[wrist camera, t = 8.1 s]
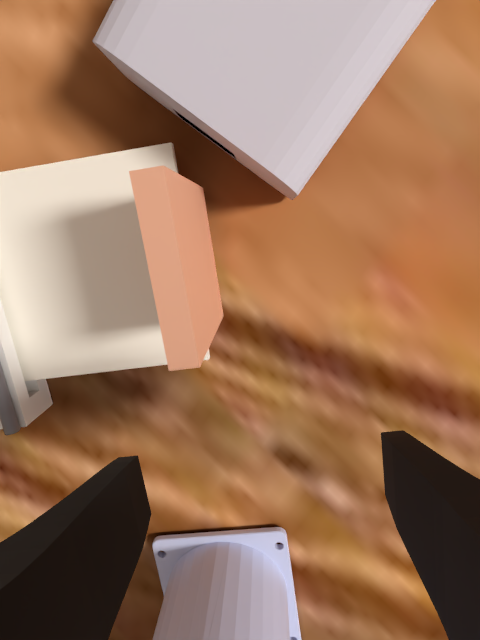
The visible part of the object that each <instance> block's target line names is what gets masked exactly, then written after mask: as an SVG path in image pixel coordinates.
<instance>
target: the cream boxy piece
mask: <svg viewBox="0 0 480 640" xmlns="http://www.w3.org/2000/svg"><path fill="white" fill-rule="evenodd" d="M0 299H1V302H2V306H3V309H4V312H5V316H6V319H7V323H8V326H9V330H10V333H11V336H12V340H13V343H14V347H15V350H16V353H17V357H18V360H19V364H20V367H21V370H22V374H23V377H24V381H32V380H40V379H48V378H57V377H65V376H74V375H82V374H91V373H99V372H108V371H116V370H125V369H133V368H142V367H150V366H159V365H167V364H168V369H169V371H173V370H182V369H191V368H199V367H200V366H201V364H202V362H203V360H209V358H210V354H209V346H210V344H211V342H212V340H213V338H214V336H215V333H216V331H217V329H218V327H219V325H220V322H221V320H222V318H223V310H222V303H221V297H220V291H219V285H218V278H217V272H216V266H215V260H214V253H213V247H212V241H211V235H210V228H209V222H208V216H207V210H206V203H205V197H204V191H203V187H201V186H199V185H197V184H196V183H194V182H192V181H190V180H189V179H187V178H185V177H183V176H181V175H180V174H178V168H177V163H176V157H175V151H174V145H173V143H171V142H170V143H165V144H159V145H153V146H148V147H142V148H136V149H130V150H125V151H119V152H113V153H107V154H102V155H96V156H90V157H85V158H79V159H73V160H67V161H62V162H56V163H50V164H45V165H39V166H33V167H27V168H22V169H16V170H10V171H4V172H0Z"/></svg>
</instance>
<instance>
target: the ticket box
mask: <svg viewBox="0 0 480 640" xmlns="http://www.w3.org/2000/svg"><path fill="white" fill-rule="evenodd" d="M51 405H53V402H52V399H51V395H50V391H49V388H48V384H47V381H46V379H40V380H32V381H24V377H23V374H22V370H21V367H20V364H19V360H18V357H17V353H16V350H15V347H14V343H13V340H12V336H11V333H10V330H9V326H8V323H7V319H6V316H5V312H4V309H3V306H2V302H1V299H0V429H3V430H4V433H5V435H11V434H14V433H16V432H18V431H19V430H20V429H21V428H20V427H27V426H28V425H29V424H30V423H31V422H32V421H34V420H35V419H36V418H37V417H38V416H40V415H41V414H42V413H43V412H44V411H45V410H47V409H48V408H49V407H50V406H51Z"/></svg>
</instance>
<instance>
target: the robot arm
mask: <svg viewBox="0 0 480 640" xmlns="http://www.w3.org/2000/svg"><path fill="white" fill-rule="evenodd" d="M381 440H382V454H383V469H384V483H385V495H386V498H387V501H388V504H389V507H390V510H391V513H392V516H393V519H394V522H395V524H396V527H397V530H398V532H399V534H400V536H401V538H402V540H403V543H404V545H405V547H406V549H407V551H408V553H409V555H410V557H411V559H412V561H413V563H414V565H415V567H416V570H417V572H418V574H419V576H420V578H421V580H422V582H423V584H424V586H425V588H426V590H427V592H428V594H429V596H430V598H431V600H432V602H433V605H434V607H435V609H436V611H437V613H438V615H439V617H440V620H441V622H442V624H443V626H444V629H445V631H446V633H447V636H448V639H449V640H480V479H478V478H476V477H474V476H473V475H471V474H469V473H468V472H466V471H464V470H463V469H461V468H459V467H458V466H456V465H455V464H453V463H451V462H450V461H448V460H447V459H445V458H444V457H442V456H441V455H439V454H438V453H436V452H435V451H433V450H432V449H430V448H429V447H427V446H426V445H424V444H423V443H421V442H420V441H418V440H417V439H416V438H414V437H413V436H411V435H410V434H408V433H406V432H405V431H392V432H382V433H381ZM150 516H151V510H150V506H149V502H148V498H147V493H146V489H145V485H144V480H143V476H142V472H141V467H140V463H139V459H138V456H130V457H119V458H117V459H116V460H114V461H113V462H111V463H110V464H108V465H107V466H106V467H104V468H103V469H102V470H100V471H99V472H98V473H96V474H95V475H94V476H93V477H91V478H90V479H89V480H88V481H86V482H85V483H84V484H82V485H81V486H80V487H79V488H77V489H76V490H75V491H73V492H72V493H71V494H70V495H68V496H67V497H66V498H64V499H63V500H62V501H60V502H59V503H58V504H56V505H55V506H53V507H52V508H51V509H49V510H48V511H47V512H45V513H44V514H42V515H41V516H40V517H38V518H37V519H36V520H34V521H33V522H31V523H30V524H28V525H27V526H26V527H24V528H23V529H21V530H20V531H18V532H16V533H15V534H13V535H12V536H10V537H9V538H7V539H5V540H4V541H2V542H1V543H0V640H108V638H109V635H110V632H111V629H112V627H113V624H114V621H115V619H116V616H117V614H118V611H119V608H120V606H121V603H122V601H123V598H124V596H125V593H126V590H127V588H128V585H129V583H130V580H131V578H132V575H133V572H134V570H135V567H136V565H137V562H138V559H139V557H140V554H141V551H142V548H143V545H144V541H145V537H146V534H147V530H148V525H149V521H150ZM278 542H280V543H282V544H276V543H278ZM152 548H153V552H154V557H155V561H156V565H157V569H158V573H159V578H160V582H161V586H162V590H163V595H164V599H163V603H162V606H161V610H160V614H159V617H158V621H157V625H156V628H155V632H154V636H153V640H301V633H300V626H299V619H298V612H297V604H296V597H295V590H294V583H293V576H292V569H291V562H290V554H289V547H288V540H287V533H286V531H285V530H284V529H283V528H281V527H270V528H257V529H243V530H230V531H216V532H203V533H189V534H176V535H162V536H157V537H156V538H155V539H154V541H153V544H152ZM161 551H164V552H161Z"/></svg>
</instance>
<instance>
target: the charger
mask: <svg viewBox="0 0 480 640" xmlns="http://www.w3.org/2000/svg"><path fill="white" fill-rule="evenodd" d="M435 1H436V0H113V2H112V4H111V6H110V8H109V10H108V12H107V14H106V16H105V18H104V20H103V22H102V23H101V25H100V27H99V29H98V31H97V33H96V35H95V37H94V39H93V43H94V44H95V45H96V46H97V47H98V48H99V49H100V50H101V51H102V52H103V53H104V55H105V56H106V57H107V58H108V59H109V60H110V61H111V62H112V63H113V64H114V65H115V66H116V67H117V68H118V69H119V70H120V71H121V72H122V73H123V74H124V75H125V76H126V77H127V78H128V79H129V80H131V81H132V82H133V83H134V84H135V85H137V86H138V87H139V88H141V89H142V90H143V91H144V92H146V93H147V94H148V95H150V96H151V97H152V98H154V99H155V100H156V101H158V102H159V103H160V104H162V105H163V106H164V107H166V108H167V109H168V110H170V111H171V112H172V113H174V114H175V115H176V116H178V115H177V113H176V112H175V111H177V112H178V113H179V114H181V115H182V116H183V117H185V118H186V119H187V120H189V121H190V122H191V123H193V124H194V125H196V126H197V127H198V128H200V129H201V130H202V131H204V132H205V133H206V134H208V135H209V136H210V137H212V138H213V139H214V140H216V141H217V142H218V143H220V144H221V145H222V146H224V147H225V148H226V149H228V150H229V151H230V152H232V153H233V154H234V156H235V158H236V160H237V161H238V162H240V163H241V164H242V165H244V166H245V167H247V168H248V169H249V170H251V171H252V172H253V173H255V174H256V175H257V176H259V177H260V178H261V179H263V180H264V181H265V182H267V183H268V184H270V185H271V186H272V187H274V188H275V189H276V190H278V191H279V192H281V193H282V194H283V195H285V196H286V197H288V198H290V199H291V200H293V199H294V198H295V197H296V196H298V194H299V193H300V191H301V190H302V189H303V187H304V186H305V184H306V183H307V182H308V180H309V179H310V177H311V176H312V174H313V173H314V172H315V170H316V169H317V167H318V166H319V165H320V163H321V162H322V160H323V159H324V158H325V156H326V155H327V153H328V152H329V150H330V149H331V148H332V146H333V145H334V143H335V142H336V141H337V139H338V138H339V136H340V135H341V134H342V132H343V131H344V129H345V128H346V126H347V125H348V124H349V122H350V121H351V119H352V118H353V117H354V115H355V114H356V112H357V111H358V110H359V108H360V107H361V105H362V104H363V102H364V101H365V100H366V98H367V97H368V95H369V94H370V93H371V91H372V90H373V88H374V87H375V85H376V84H377V83H378V81H379V80H380V78H381V77H382V76H383V74H384V73H385V71H386V70H387V69H388V67H389V66H390V64H391V63H392V61H393V60H394V59H395V57H396V56H397V54H398V53H399V52H400V50H401V49H402V47H403V46H404V45H405V43H406V42H407V40H408V39H409V37H410V36H411V35H412V33H413V32H414V30H415V29H416V28H417V26H418V25H419V23H420V22H421V20H422V19H423V18H424V16H425V15H426V13H427V12H428V11H429V9H430V8H431V6H432V5H433V4H434V2H435ZM173 109H174V110H175V111H174V110H173ZM178 117H179V116H178ZM179 118H180V117H179ZM181 119H182V118H181ZM182 120H183V119H182ZM183 121H184V120H183ZM185 122H186V121H185ZM186 123H187V122H186ZM187 124H188V123H187ZM189 125H190V124H189ZM190 126H191V125H190ZM191 127H192V126H191ZM193 128H194V127H193ZM194 129H195V128H194ZM195 130H196V129H195ZM197 131H198V130H197ZM198 132H199V131H198ZM199 133H200V132H199ZM201 134H202V133H201ZM202 135H203V134H202ZM203 136H204V135H203ZM205 137H206V136H205ZM206 138H207V137H206ZM207 139H208V138H207ZM209 140H210V139H209ZM210 141H211V140H210ZM211 142H213V141H211ZM213 143H214V142H213ZM214 144H215V143H214ZM216 145H217V144H216ZM217 146H218V145H217ZM218 147H219V146H218ZM220 148H221V147H220ZM221 149H222V148H221ZM222 150H223V149H222ZM224 151H225V150H224ZM225 152H226V151H225ZM226 153H227V152H226ZM228 154H229V153H228ZM229 155H230V154H229ZM230 156H231V155H230ZM232 157H233V156H232ZM233 158H234V157H233ZM235 158H234V159H235Z"/></svg>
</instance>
